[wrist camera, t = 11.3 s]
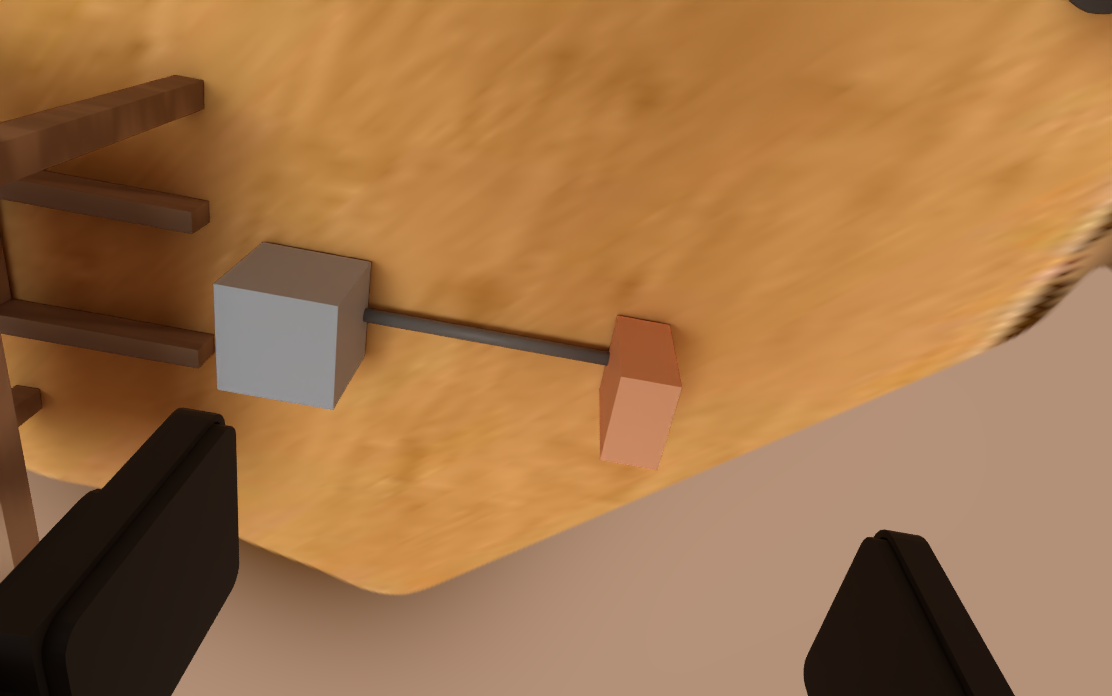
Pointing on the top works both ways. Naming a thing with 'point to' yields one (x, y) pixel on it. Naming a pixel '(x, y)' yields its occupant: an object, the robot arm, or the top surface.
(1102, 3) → the sundae
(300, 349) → the lopsided dumbbell
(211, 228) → the top surface
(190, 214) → the wooden side table
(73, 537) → the robot arm
